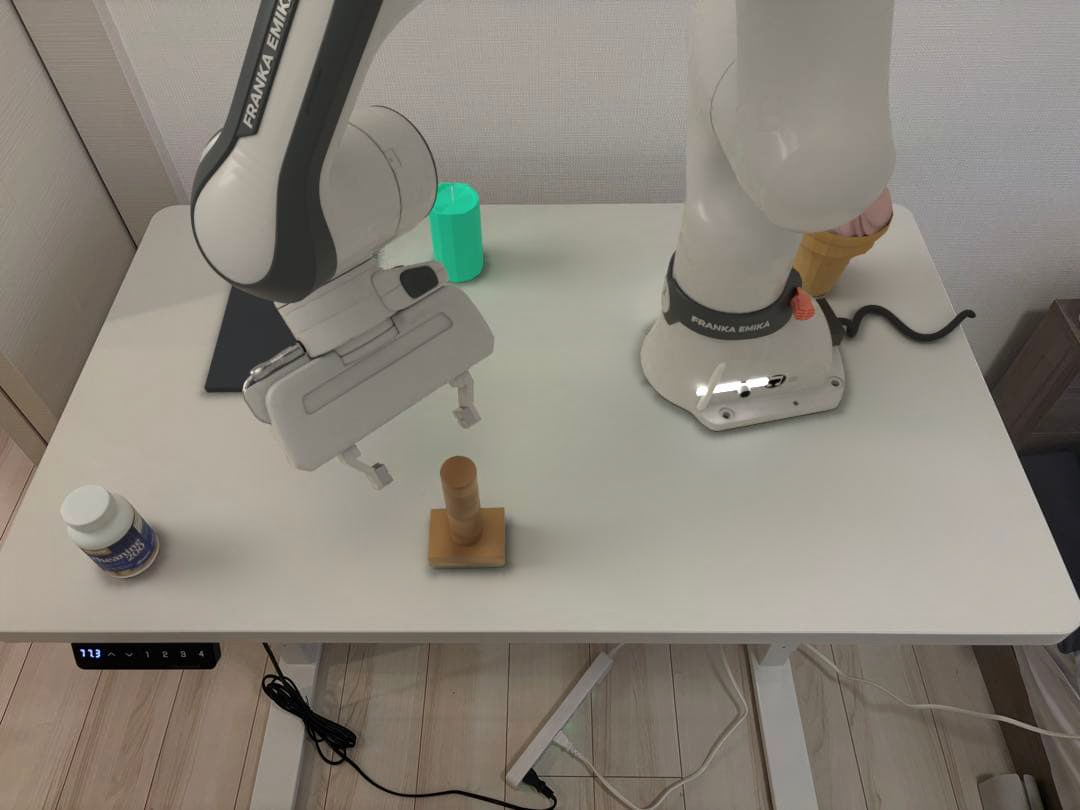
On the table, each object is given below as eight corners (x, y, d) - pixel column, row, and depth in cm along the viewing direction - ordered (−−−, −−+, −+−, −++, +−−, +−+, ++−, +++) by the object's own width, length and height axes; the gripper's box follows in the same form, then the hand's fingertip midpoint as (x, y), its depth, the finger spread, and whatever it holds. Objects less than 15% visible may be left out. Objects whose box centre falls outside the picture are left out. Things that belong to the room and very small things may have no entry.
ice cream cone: (775, 317, 94) (827, 180, 77) (757, 252, 100) (802, 113, 84) (866, 316, 94) (937, 178, 78) (842, 251, 100) (903, 112, 84)
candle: (482, 282, 96) (477, 205, 87) (432, 282, 96) (422, 204, 87) (484, 248, 100) (480, 170, 90) (437, 247, 100) (427, 169, 90)
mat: (372, 249, 100) (371, 244, 99) (353, 389, 87) (352, 385, 86) (244, 251, 99) (242, 246, 99) (206, 392, 87) (204, 387, 86)
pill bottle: (107, 589, 73) (56, 543, 65) (97, 542, 76) (46, 492, 68) (166, 564, 75) (123, 516, 67) (154, 519, 78) (112, 467, 70)
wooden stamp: (505, 521, 78) (500, 444, 66) (505, 569, 75) (501, 497, 63) (433, 523, 78) (417, 446, 66) (431, 570, 75) (413, 499, 63)
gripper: (236, 380, 58) (336, 531, 62) (457, 252, 66) (533, 393, 70) (225, 380, 64) (317, 519, 67) (430, 262, 72) (502, 392, 75)
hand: (429, 454), depth 69 cm, fingers open, 8 cm apart
